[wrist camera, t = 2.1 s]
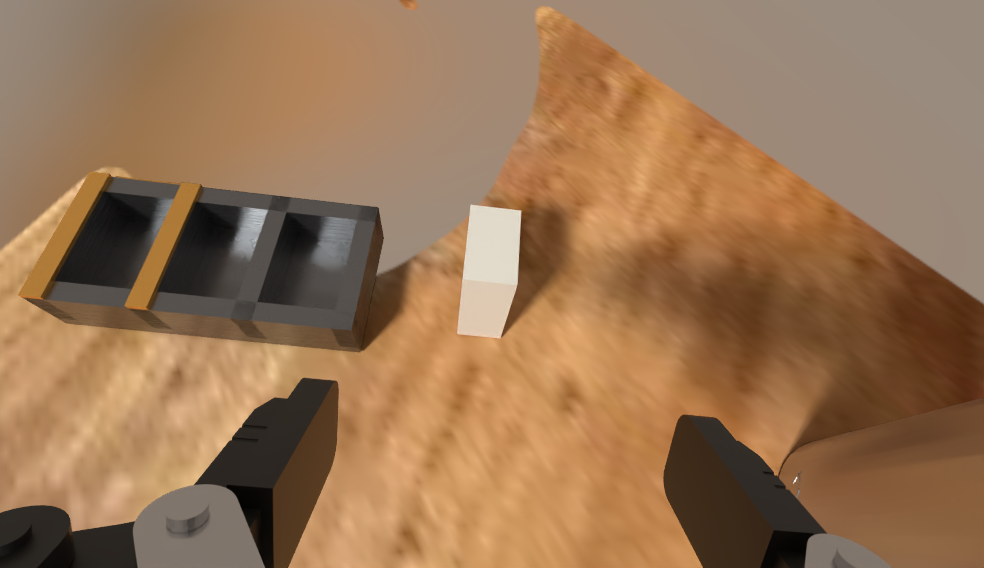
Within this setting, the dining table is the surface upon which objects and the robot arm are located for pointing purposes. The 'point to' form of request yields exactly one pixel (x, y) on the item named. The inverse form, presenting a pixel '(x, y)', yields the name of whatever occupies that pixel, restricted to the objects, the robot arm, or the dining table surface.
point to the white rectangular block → (489, 270)
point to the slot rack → (210, 264)
